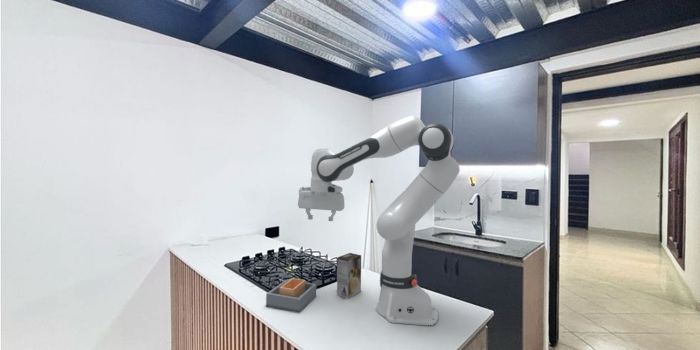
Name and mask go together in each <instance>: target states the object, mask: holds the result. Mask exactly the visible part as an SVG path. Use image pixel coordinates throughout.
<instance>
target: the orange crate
mask: <svg viewBox="0 0 700 350" xmlns="http://www.w3.org/2000/svg"><path fill="white" fill-rule="evenodd" d="M288 280H289V281H288V282H286V283H285V284H284V285H282V286H281V287H280V289H279V295H284V296H290V297H296V298H299V297H300V296H301V295H302V294H303V293H304V292H305V282H306V280H305V279H299V278H293V277H291V278H290V279H288Z"/></svg>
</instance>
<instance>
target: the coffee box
mask: <svg viewBox="0 0 700 350" xmlns="http://www.w3.org/2000/svg"><path fill="white" fill-rule="evenodd" d="M336 259H337V260H336V261H337V262H336V264H337V265H336V295H337V296H339V297H342V298H344V299H351V298H352V297H354V296H356V295H357V294H360V292H361V291H362V255H361V254H358V253H352V252H349V253H345V254H344V255H340V256H337V258H336Z"/></svg>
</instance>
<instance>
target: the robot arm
mask: <svg viewBox="0 0 700 350" xmlns="http://www.w3.org/2000/svg"><path fill="white" fill-rule="evenodd" d="M414 146H419V147H420V150H421V152H422V153H423V154H424V156H425V157H426V159H427V161H428V162H427V164H426V165H425V166H424V168H423V169H422V170H421V171H420V172H419V173H418V175H416V177H415V178H414V179H413V180H412V181H411V183H410V184H409V185H408V186H407V188H405V189H404V190H403V191H402V193H401V194H400V195H398V197H396V198H395V199H394V200H393V201H392V202H391V203H390V204H389V205H388V207H387V208H386V209H385V210H384V211H383V212H382V213H381V214H380V215H379V217H378V218H377V219H376V220H377V221H376V231H377V233H378V235H379V236H380V237H381V238H383V239H384V243H383V246H382V247H383V248H382V250H381V270H380V271H381V272H380V274H379V287H380V291H379V297H378V301H377V305H376V311H377V313H378V314H379V315H380V316H383V317H384V318H385V319H386V320H387V321H388V322H389V323H391V324H392V323H393V324H404V325H405V324H406V325H417V326H428V325H429V326H430V325H431V326H432V327H433V326H434V324H435V325H436V324H437V323H438V321H439V312H438V309H437V308H436V306H434V305H433V304H432V300H431V296H430V295H429V294H428V292H426V291H425V290H424V289H423V288H422V287H421V286H419V285H418V277H417V274H413V273H412V268H413V267H412V265H413V264H412V259H413V258H412V256H413V248H414V247H413V246H414V240H415V231H416V224H417V223H418V222H419V221H420V220H421V219H422V218H423V216H425V215H426V214H427V213H428V212H429V211H430V210H431V208H432V207H434V205H435V204H436V203H437V202H438V201H439V200H440V199H441V197H443V195H444V194H445V193H446V192H447V191H448V189H449V188H450V187H451V186H452V184H453V183H454V182H455V180H456V179H457V177H458V175H459V173H460V165H459V163H458V162H457V160H456V159H455V158H453V157H452V155H451V152H452V151H453V149H454V146H455V139H454V136H453V133H452V131H451V130H450V129H449V128H448V127H447V126H446V125H444V124H442V123H438V122H434V123H429V124H427V125H425V124H424V122H423V121H422V120H421V119H420V118H419V117H418V116H416V115H409V116H406V117H403V118H400V119H398V120H395V121H394V122H392V123H390V124H389V125H387V126H385V127H384V128H381V129H380V130H379V131H376V133H374V134H372V135H370V136H369V137H367V138H365V139H364V140H362V141H360V142H358V143H356V144H354V145H352V146H350V147H348V148H346V149H344V150H342V151H340V152H338V153H334V152H333V151H332V150H331V149H329V148H320V149H319V148H318V149H316V150H315V151H313V153H312V155H311V162H310V172H311V178H310V186H302V187H300V188H299V190H298V199H297V207H298V208H299V209H305V213H306V215H307V219H308V220H311V221H312V220H313V217H314V215H313V214H312V213H311V211H312V210H318V211H319V210H320V211H330V213H331V215H330V216H328V222H333V221H334V217H335V215H336V213H337V212H342V211H344V209H345V197H344V194H343V193H342V192H343V187H341V186H339V185H337V184H334V183H333V182H334V181H335V182H336V181H337V182H339V181H345V180H348V179H350V178H351V177H352V176H353V174H354V165H356V164H358V163H360V162H362V161H365V160H369V159H375V158H376V159H379V158H380V159H383V158H384V159H385V158H389V157H392V156H396V155H397V154H400V153H401V152H404V151H406V150H407V149H410V148H411V147H414ZM429 326H428V327H429ZM431 326H430V327H431Z"/></svg>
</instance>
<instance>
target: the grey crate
mask: <svg viewBox="0 0 700 350" xmlns="http://www.w3.org/2000/svg"><path fill="white" fill-rule="evenodd" d="M289 280H290V279H285V280H283V281H281V283H279V284H278V285H276V286H275V287H273V289H271V290H269V291H268V292H267V293H265V294H266V295H265V301H266V302H265V307H266V308H272V309H276V310H282V311H287V312H290V313H291V312H292V313H297V314H300V313H301V312H302V311H303V310H304V309H305V308H306V307H307V306H308V305H309V304H311V302H312V301H313V300H314V299H315V298H316V297H317V283H311V282H306V281H305V292H304V293H303V294H302V295H301V296H300V297H299V298H296V297H290V296H284V295H279V289H280V287H281V286H282V285H284V284H285V283H286V282H288V281H289Z"/></svg>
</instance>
